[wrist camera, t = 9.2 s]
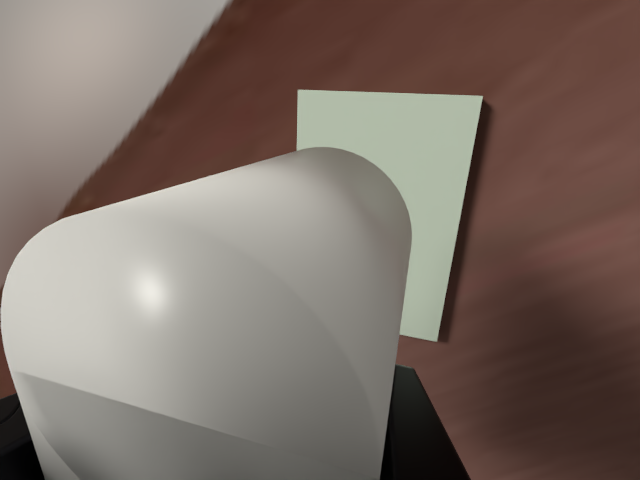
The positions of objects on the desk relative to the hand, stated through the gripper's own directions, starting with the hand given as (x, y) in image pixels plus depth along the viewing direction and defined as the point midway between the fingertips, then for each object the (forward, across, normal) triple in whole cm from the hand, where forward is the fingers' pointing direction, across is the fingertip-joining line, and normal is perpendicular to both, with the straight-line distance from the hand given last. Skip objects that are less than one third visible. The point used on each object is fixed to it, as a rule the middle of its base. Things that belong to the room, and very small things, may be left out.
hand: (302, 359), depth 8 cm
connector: (+1, 0, +1) cm, 2 cm away
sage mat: (+12, 0, 0) cm, 12 cm away
